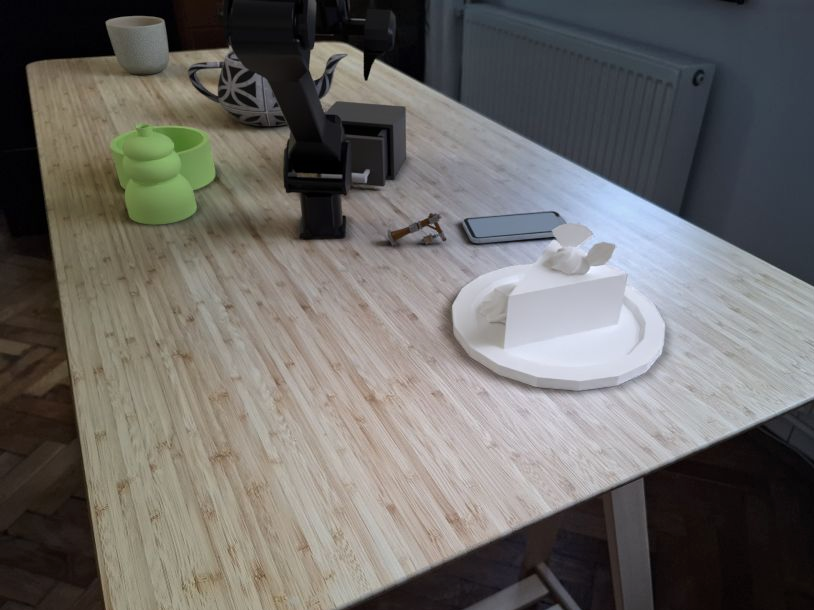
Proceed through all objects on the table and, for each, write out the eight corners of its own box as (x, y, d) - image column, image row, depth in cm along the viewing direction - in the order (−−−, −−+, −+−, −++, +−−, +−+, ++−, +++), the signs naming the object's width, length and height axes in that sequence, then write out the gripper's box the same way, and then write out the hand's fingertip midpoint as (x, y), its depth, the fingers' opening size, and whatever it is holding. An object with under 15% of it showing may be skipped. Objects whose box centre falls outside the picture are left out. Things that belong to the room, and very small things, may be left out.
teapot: (357, 129, 135) (353, 48, 126) (193, 135, 129) (176, 50, 120) (347, 101, 150) (343, 26, 141) (199, 105, 143) (185, 27, 135)
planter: (107, 70, 162) (95, 20, 156) (156, 62, 170) (146, 13, 164) (135, 81, 156) (123, 29, 149) (184, 71, 164) (174, 22, 157)
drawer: (378, 196, 107) (376, 148, 103) (310, 190, 108) (305, 142, 104) (395, 166, 118) (394, 121, 114) (333, 160, 119) (330, 116, 114)
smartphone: (461, 217, 102) (556, 210, 105) (460, 223, 103) (556, 215, 106) (472, 239, 96) (573, 231, 99) (472, 246, 97) (572, 237, 100)
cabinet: (394, 179, 115) (393, 124, 110) (323, 173, 116) (318, 118, 111) (406, 158, 123) (405, 106, 118) (340, 152, 124) (336, 100, 119)
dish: (543, 254, 96) (552, 176, 89) (703, 330, 81) (728, 245, 75) (408, 317, 81) (407, 230, 75) (574, 423, 67) (591, 327, 60)
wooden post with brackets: (452, 240, 96) (439, 212, 93) (400, 260, 97) (386, 234, 95) (451, 234, 97) (439, 207, 95) (400, 254, 99) (386, 228, 96)
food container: (125, 164, 116) (105, 87, 108) (215, 159, 119) (202, 84, 112) (105, 228, 96) (79, 140, 89) (214, 220, 100) (198, 134, 93)
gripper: (395, -54, 94) (401, 45, 108) (259, -60, 94) (283, 39, 108) (388, -4, 89) (396, 94, 103) (244, -10, 89) (271, 88, 102)
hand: (336, 77), depth 104 cm, fingers open, 9 cm apart
